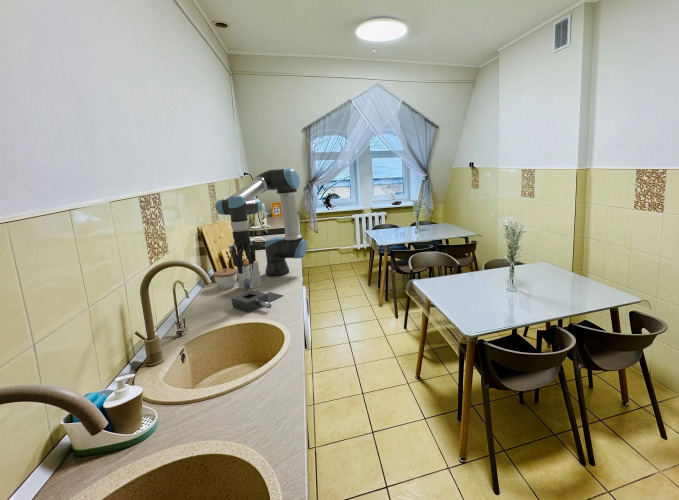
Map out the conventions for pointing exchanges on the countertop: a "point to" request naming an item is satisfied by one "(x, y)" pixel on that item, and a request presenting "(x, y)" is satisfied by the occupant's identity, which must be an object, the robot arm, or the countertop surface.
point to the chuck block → (250, 301)
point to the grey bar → (247, 274)
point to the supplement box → (254, 280)
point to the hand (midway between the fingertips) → (246, 278)
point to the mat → (273, 296)
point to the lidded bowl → (226, 278)
